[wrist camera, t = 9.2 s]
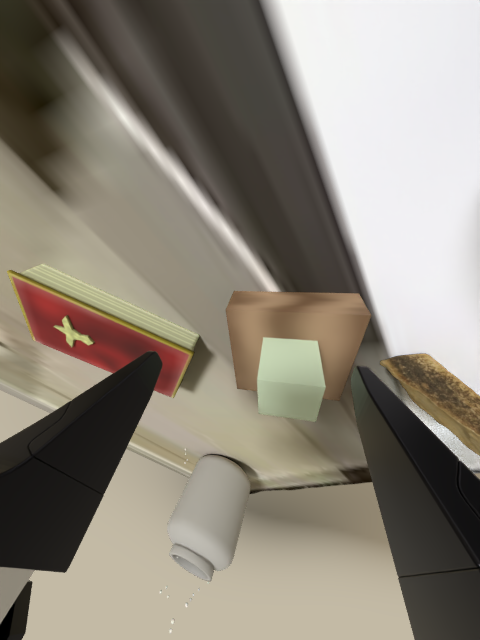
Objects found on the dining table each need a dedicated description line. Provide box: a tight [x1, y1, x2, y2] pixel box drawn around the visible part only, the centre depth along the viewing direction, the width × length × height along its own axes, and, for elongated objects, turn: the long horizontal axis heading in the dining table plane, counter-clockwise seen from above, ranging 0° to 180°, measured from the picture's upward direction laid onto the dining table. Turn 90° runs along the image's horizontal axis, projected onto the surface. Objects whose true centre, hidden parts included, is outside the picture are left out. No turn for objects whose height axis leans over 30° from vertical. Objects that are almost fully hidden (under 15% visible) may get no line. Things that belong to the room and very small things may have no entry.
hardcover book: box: [7, 264, 200, 398], centre depth 27 cm, size 12×21×4 cm, turn 66°
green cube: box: [257, 337, 326, 422], centre depth 18 cm, size 5×5×5 cm
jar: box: [160, 449, 250, 633], centre depth 43 cm, size 19×15×25 cm
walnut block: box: [226, 291, 371, 401], centre depth 22 cm, size 12×12×4 cm
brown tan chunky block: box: [380, 354, 480, 456], centre depth 21 cm, size 11×9×10 cm
